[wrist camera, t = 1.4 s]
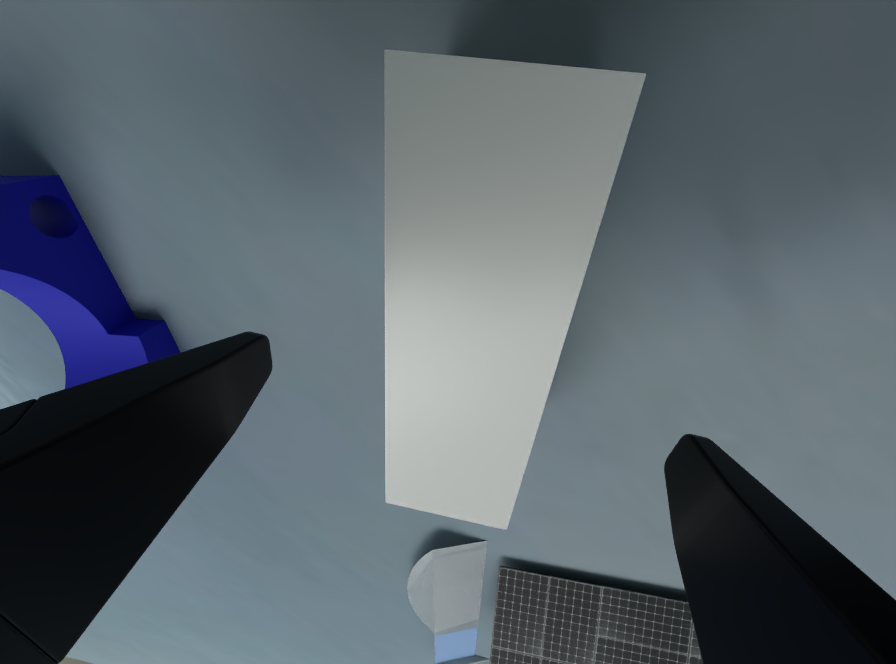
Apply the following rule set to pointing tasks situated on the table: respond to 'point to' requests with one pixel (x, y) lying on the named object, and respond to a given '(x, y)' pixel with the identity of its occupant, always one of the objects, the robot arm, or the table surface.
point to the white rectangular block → (485, 261)
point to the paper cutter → (545, 616)
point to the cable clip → (70, 282)
